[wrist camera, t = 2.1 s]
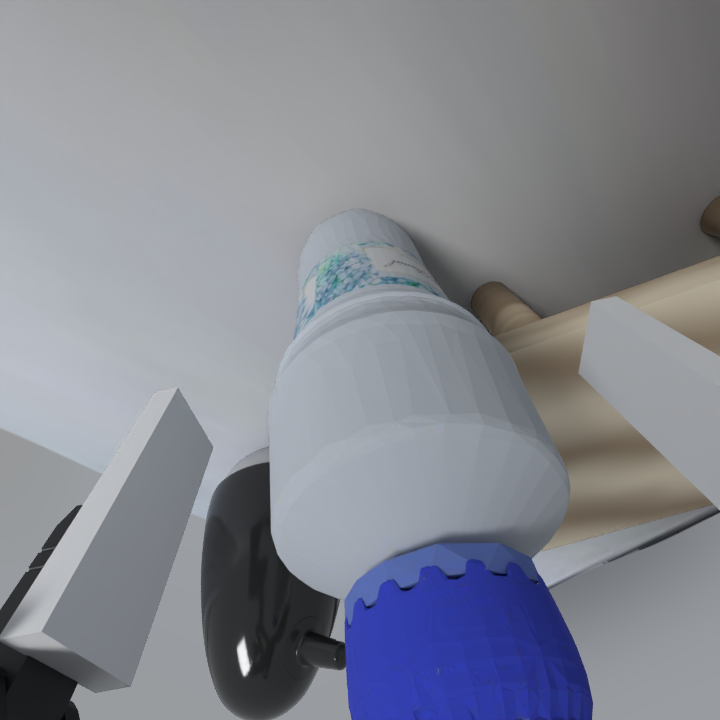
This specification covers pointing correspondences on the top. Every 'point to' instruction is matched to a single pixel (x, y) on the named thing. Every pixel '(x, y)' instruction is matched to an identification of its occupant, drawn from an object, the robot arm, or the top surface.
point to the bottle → (418, 490)
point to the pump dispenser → (259, 604)
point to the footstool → (590, 410)
